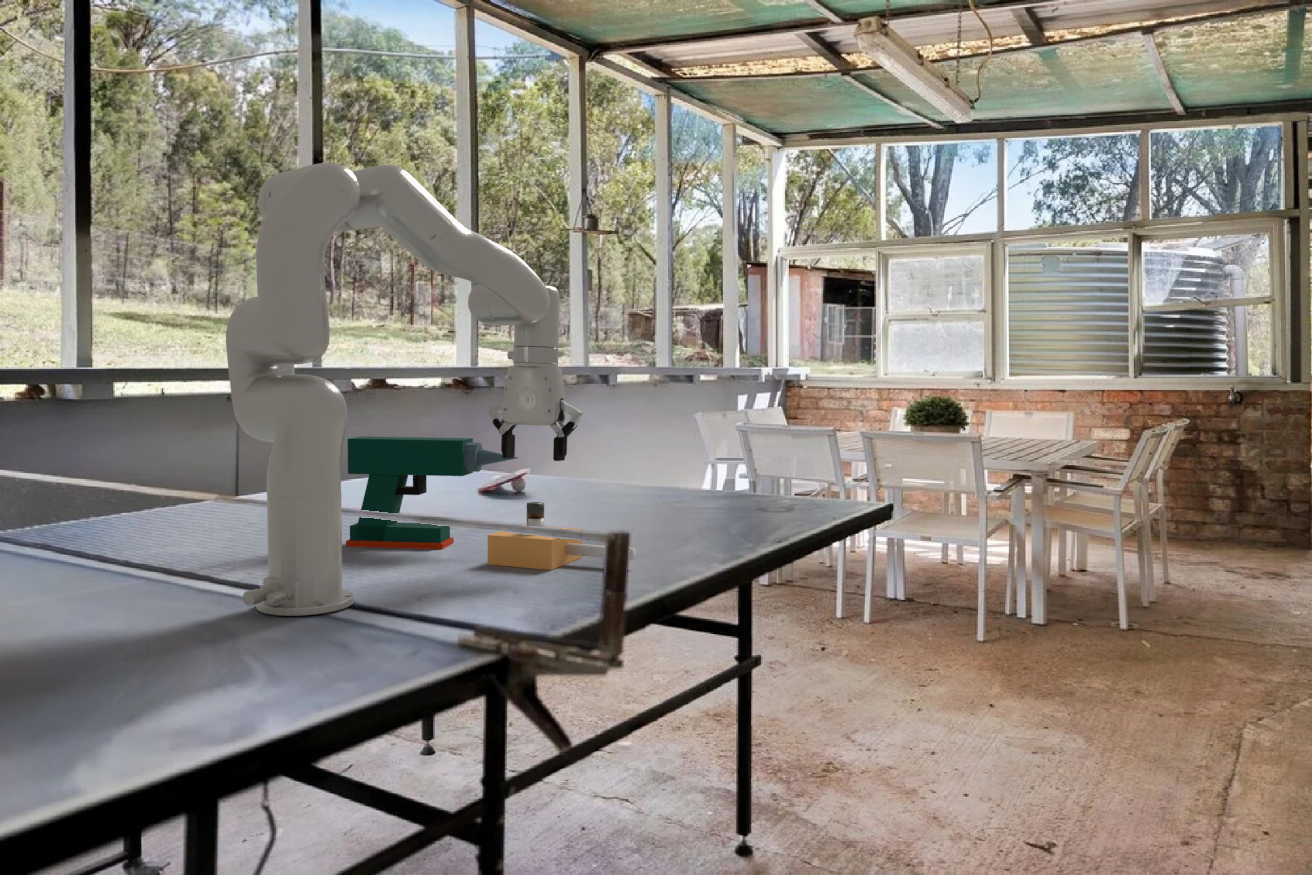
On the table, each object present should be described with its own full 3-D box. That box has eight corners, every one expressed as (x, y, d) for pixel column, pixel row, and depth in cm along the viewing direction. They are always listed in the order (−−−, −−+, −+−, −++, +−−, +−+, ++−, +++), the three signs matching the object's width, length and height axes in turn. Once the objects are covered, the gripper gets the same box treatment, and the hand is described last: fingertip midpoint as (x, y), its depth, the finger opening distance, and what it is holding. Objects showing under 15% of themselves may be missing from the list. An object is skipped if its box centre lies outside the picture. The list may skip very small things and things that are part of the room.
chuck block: (619, 576, 153) (619, 545, 153) (487, 564, 162) (487, 534, 161) (646, 562, 164) (646, 533, 164) (521, 552, 173) (521, 524, 172)
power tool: (524, 544, 181) (524, 438, 180) (515, 551, 174) (515, 441, 173) (361, 540, 184) (360, 436, 183) (345, 546, 177) (344, 438, 176)
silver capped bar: (539, 563, 163) (539, 504, 163) (523, 561, 164) (523, 503, 164) (547, 559, 166) (547, 502, 165) (531, 558, 167) (531, 501, 166)
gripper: (480, 357, 162) (477, 457, 163) (572, 358, 156) (570, 463, 157) (502, 359, 169) (499, 455, 170) (591, 360, 163) (588, 460, 164)
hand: (533, 459), depth 163 cm, fingers open, 9 cm apart
